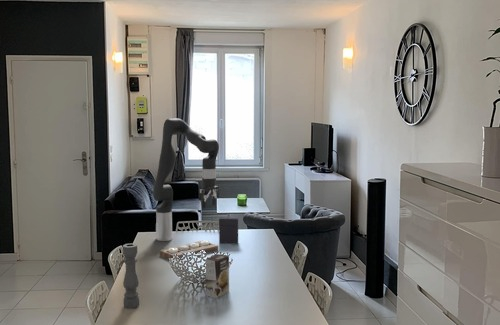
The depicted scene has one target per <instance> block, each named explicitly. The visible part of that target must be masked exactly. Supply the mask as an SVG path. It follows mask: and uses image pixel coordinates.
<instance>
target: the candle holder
mask: <svg viewBox="0 0 500 325" xmlns="http://www.w3.org/2000/svg"><path fill="white" fill-rule="evenodd" d="M122 254H123V257H124V259H123V263H124V264H125V272H124V277H123V281H122V282H123V283H122V285H123V286H122V287H123V288H124V289H125V292H124V294H123V296H124V297H123V308H124V309H127V310H128V309H129V310H130V309H131V310H132V309H137V308H139V307H140V296H139V291H137V288H138V287H139V284H140V281H139V278H138V275H137V274H138V273H137V270H136V263H137V262H138V259H137V258H136V257H137V254H138V244H137V243H132V242H131V243H125V244H123V245H122Z"/></svg>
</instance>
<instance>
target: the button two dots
mask: <svg viewBox="0 0 500 325" xmlns="http://www.w3.org/2000/svg"><path fill="white" fill-rule="evenodd" d="M169 248H170V249H169V253H171V254H174V253H178V249H177V248H172V247H169Z"/></svg>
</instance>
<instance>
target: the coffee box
mask: <svg viewBox="0 0 500 325" xmlns="http://www.w3.org/2000/svg"><path fill="white" fill-rule="evenodd" d="M229 292H230V256H229V255H226V254H225V255H224V254H219V253H216V254H214V255H212V256H209V257H207V258H205V295H206V297H207V296H208V297H212V298H214V299H217V298H220V297H222V296H223V295H225V294H227V293H229Z"/></svg>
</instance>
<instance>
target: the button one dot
mask: <svg viewBox="0 0 500 325" xmlns="http://www.w3.org/2000/svg"><path fill="white" fill-rule="evenodd" d="M200 241H201V242H200V245H201V246H208V245H209V243H210V242H209V241H208V240H200Z"/></svg>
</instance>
